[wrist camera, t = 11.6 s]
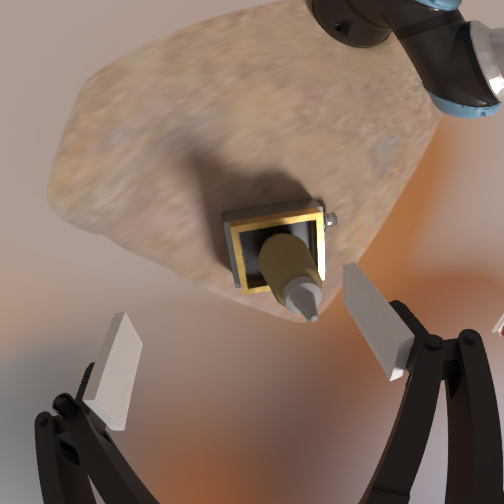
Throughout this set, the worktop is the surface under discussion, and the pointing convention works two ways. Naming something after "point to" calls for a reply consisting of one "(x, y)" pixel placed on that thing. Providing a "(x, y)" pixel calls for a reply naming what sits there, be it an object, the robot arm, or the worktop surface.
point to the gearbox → (266, 224)
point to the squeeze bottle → (291, 274)
